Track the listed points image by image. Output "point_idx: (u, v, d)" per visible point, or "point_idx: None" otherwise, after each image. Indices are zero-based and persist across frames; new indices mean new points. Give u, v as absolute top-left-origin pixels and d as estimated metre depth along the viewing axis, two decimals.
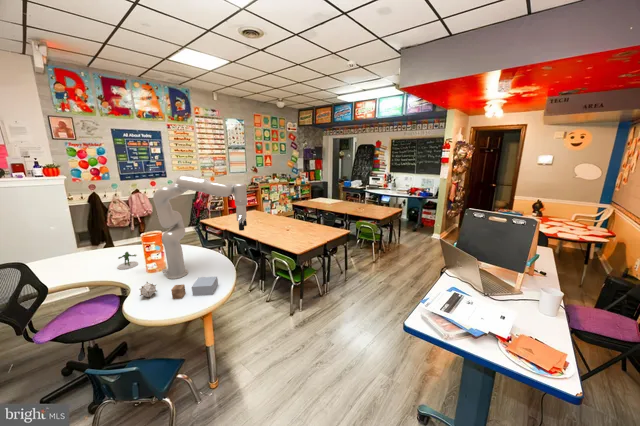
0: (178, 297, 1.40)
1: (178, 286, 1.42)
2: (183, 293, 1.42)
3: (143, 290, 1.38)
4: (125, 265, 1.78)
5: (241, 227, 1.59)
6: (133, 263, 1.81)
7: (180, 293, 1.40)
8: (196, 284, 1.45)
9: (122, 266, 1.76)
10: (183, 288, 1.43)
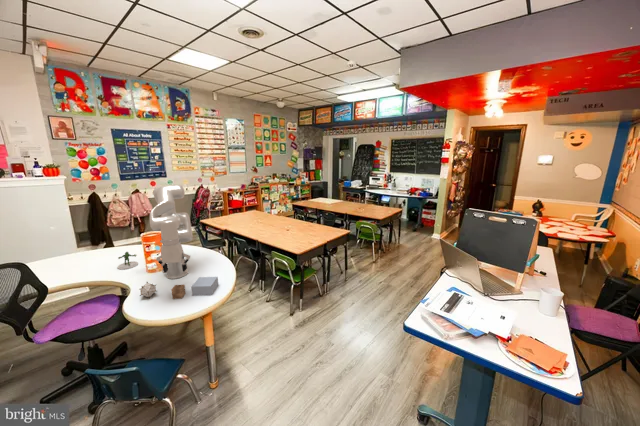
0: (178, 297, 1.40)
1: (178, 286, 1.42)
2: (183, 293, 1.42)
3: (143, 290, 1.38)
4: (125, 265, 1.78)
5: (186, 266, 1.39)
6: (133, 263, 1.81)
7: (180, 293, 1.40)
8: (196, 283, 1.45)
9: (122, 266, 1.76)
10: (183, 288, 1.43)
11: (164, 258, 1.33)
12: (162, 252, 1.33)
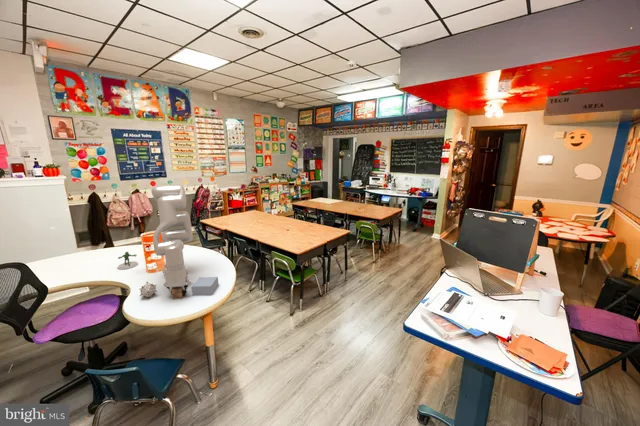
0: (178, 297, 1.40)
1: None
2: None
3: (143, 290, 1.38)
4: (125, 265, 1.78)
5: (185, 291, 1.43)
6: (133, 263, 1.81)
7: (180, 293, 1.40)
8: (196, 283, 1.45)
9: (122, 266, 1.76)
10: None
11: (168, 282, 1.37)
12: (166, 277, 1.36)
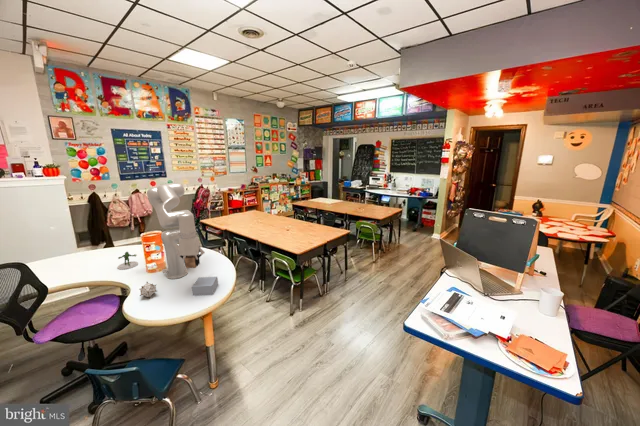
0: (191, 266, 1.40)
1: (191, 256, 1.41)
2: None
3: (143, 290, 1.38)
4: (125, 265, 1.78)
5: (199, 261, 1.42)
6: (133, 263, 1.81)
7: (193, 262, 1.39)
8: (196, 284, 1.45)
9: (122, 266, 1.76)
10: None
11: (182, 251, 1.37)
12: (180, 245, 1.36)
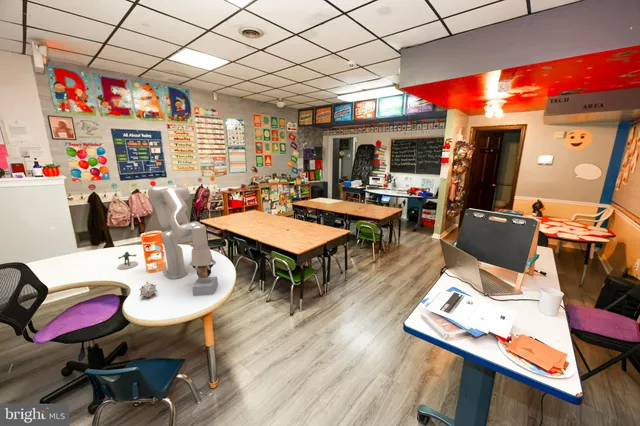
0: (203, 276, 1.44)
1: (203, 266, 1.45)
2: None
3: (143, 290, 1.38)
4: (125, 265, 1.78)
5: (210, 271, 1.46)
6: (133, 263, 1.81)
7: (205, 272, 1.43)
8: (196, 284, 1.44)
9: (122, 266, 1.76)
10: None
11: (194, 261, 1.41)
12: (192, 256, 1.40)
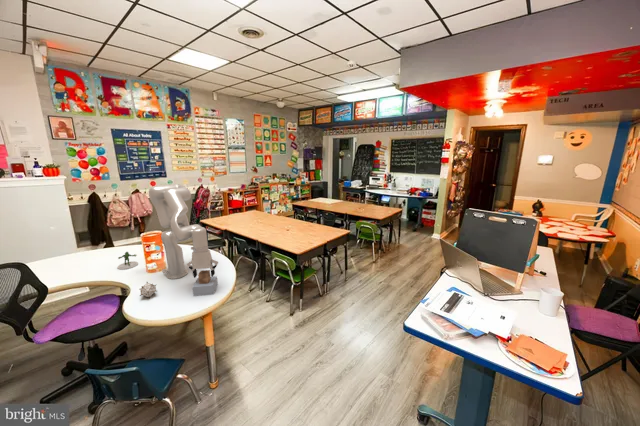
0: (204, 282, 1.45)
1: (204, 271, 1.47)
2: (209, 278, 1.47)
3: (143, 290, 1.38)
4: (125, 265, 1.78)
5: (214, 271, 1.47)
6: (133, 263, 1.81)
7: (206, 278, 1.45)
8: (196, 284, 1.44)
9: (122, 266, 1.76)
10: (209, 273, 1.47)
11: (194, 264, 1.42)
12: (193, 258, 1.41)
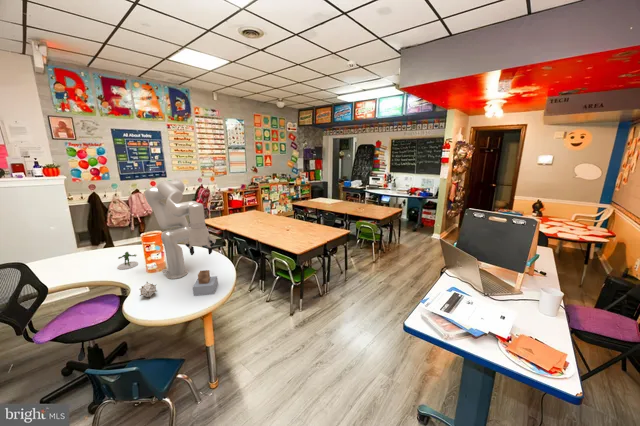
0: (204, 282, 1.45)
1: (203, 271, 1.46)
2: (208, 278, 1.47)
3: (143, 290, 1.38)
4: (125, 265, 1.78)
5: (211, 249, 1.44)
6: (133, 263, 1.81)
7: (206, 278, 1.45)
8: (196, 284, 1.45)
9: (122, 266, 1.76)
10: (208, 273, 1.47)
11: (191, 241, 1.38)
12: (190, 235, 1.37)
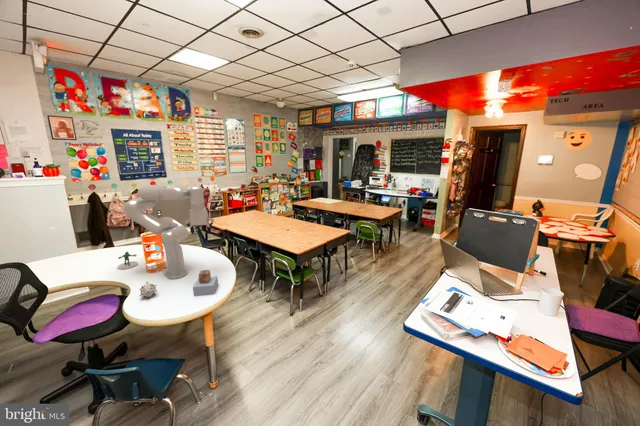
0: (205, 282, 1.45)
1: (204, 271, 1.47)
2: (209, 278, 1.48)
3: (143, 290, 1.38)
4: (125, 265, 1.78)
5: (210, 229, 1.58)
6: (133, 263, 1.81)
7: (206, 278, 1.45)
8: (197, 284, 1.44)
9: (122, 266, 1.76)
10: (209, 273, 1.48)
11: (192, 221, 1.52)
12: (190, 215, 1.51)
